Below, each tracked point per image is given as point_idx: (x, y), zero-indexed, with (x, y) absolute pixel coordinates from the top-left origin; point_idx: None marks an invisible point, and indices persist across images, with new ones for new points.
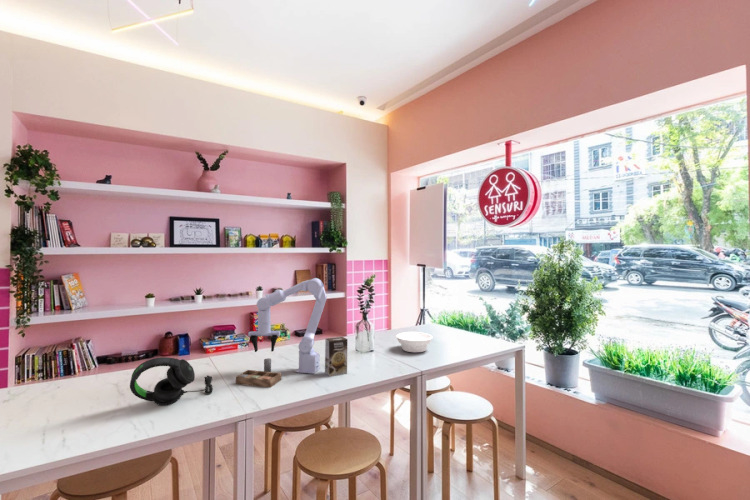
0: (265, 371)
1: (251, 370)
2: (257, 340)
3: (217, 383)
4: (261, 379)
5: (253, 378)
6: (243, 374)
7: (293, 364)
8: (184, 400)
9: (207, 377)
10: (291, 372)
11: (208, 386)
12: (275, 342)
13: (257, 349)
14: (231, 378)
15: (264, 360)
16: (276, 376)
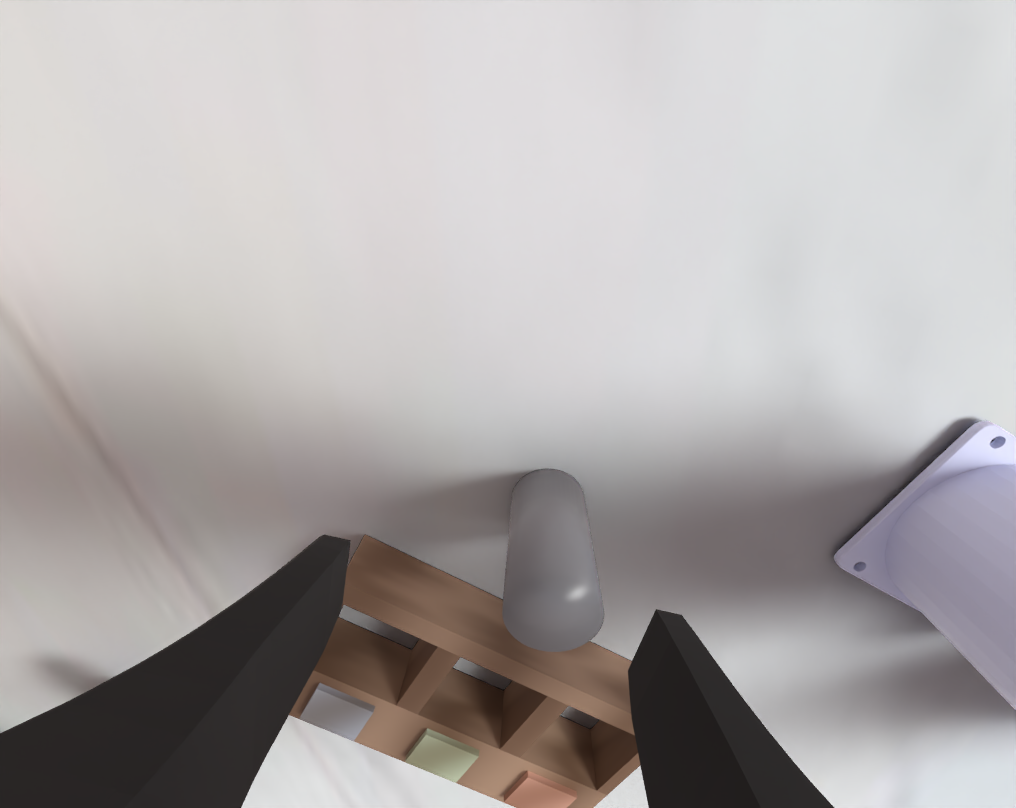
0: (527, 665)
1: (381, 606)
2: (200, 733)
3: (150, 608)
4: (498, 798)
5: (432, 771)
6: (327, 700)
7: (907, 278)
8: None
9: None
10: (790, 544)
11: None
12: (808, 800)
13: (340, 556)
14: (224, 538)
15: (510, 630)
16: (622, 779)
